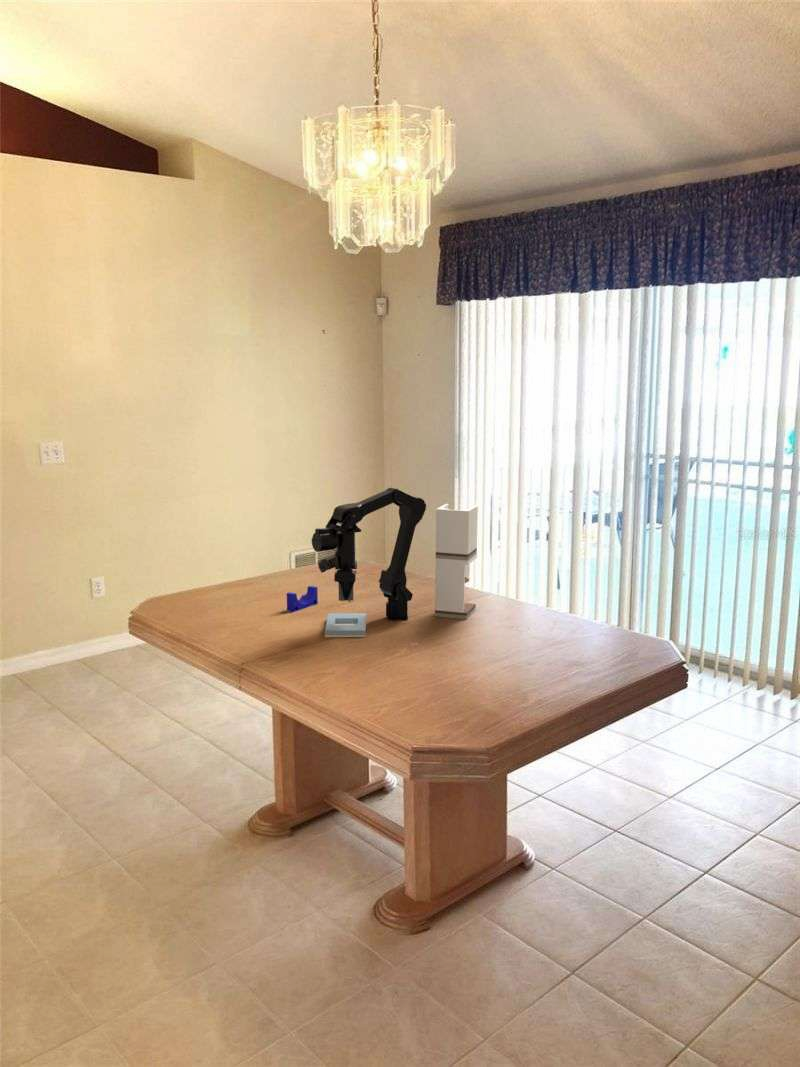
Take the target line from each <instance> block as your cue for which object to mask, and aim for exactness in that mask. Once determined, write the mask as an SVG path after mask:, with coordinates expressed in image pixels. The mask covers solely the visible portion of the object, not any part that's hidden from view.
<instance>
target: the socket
mask: <svg viewBox="0 0 800 1067" xmlns="http://www.w3.org/2000/svg"><path fill="white" fill-rule="evenodd" d="M366 628H367V613H366V612H364V613H363V612H361V613H359V612H358V613H357V612H355V613H354V612H352V613H351V612H350V613H346V612H345V613H344V612H343V613H340V612H338V613H337V612H335V613H332V612H331V613H328V614H327V619H326V624H325V629H324V637H325V638H347V637H348V638H350V637H351V638H353V637H354V638H366V632H367V630H366Z"/></svg>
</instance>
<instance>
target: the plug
mask: <svg viewBox="0 0 800 1067" xmlns="http://www.w3.org/2000/svg"><path fill="white" fill-rule="evenodd" d="M354 587H355V584H354V585H353V587H352V590H351V593H350V595H349V598H348V600H344V596H343V592H342V588H341V584H340V583H338V601H340V602H343V603H344V602H345V601H347V602H348V603H351V602H354V597H355V595H354V593H355V592H354V591H355V590H354Z"/></svg>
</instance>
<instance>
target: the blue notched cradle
mask: <svg viewBox="0 0 800 1067" xmlns="http://www.w3.org/2000/svg"><path fill="white" fill-rule="evenodd" d="M318 594H319V593H318V586H314V585H309V586H307V590H306V594H302V595H301V597H300V598H299V599H298V596H297V593H296V592H290V591H289V592H287V593H286V611H288V612H293V613H294V612H298V611H301V610H303V609H306V608H309V607H310V608H311V607H312V606H315V605H318V599H319V598H318Z"/></svg>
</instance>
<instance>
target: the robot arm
mask: <svg viewBox="0 0 800 1067" xmlns="http://www.w3.org/2000/svg"><path fill="white" fill-rule="evenodd" d="M392 504H394V505H395V506H397V507H398V508H399V509H398V516H399V521H400V524H399V527H398V531H397V536H396V540H395V544H394V548H393V553H392V556H391V560H390V563H389V566H388V568H386V569H385V570H384V569H382V570H381V571H380V577H379V580H378V583H379V589H380V591H381V592H382V593H383V597H384V598H387V601H386V602H385V616H386V618H387V621H390V620H391V621H408V620H409V616H408V614H409V613H408V610H409V608H408V607H409V606H408V603H409V602H410V601H412V598H413V595H414V594H413V593H412V591H410V590H409V589H408V588H407V582H408V580H407V574H406V566H407V561H408V559H409V558H408V557H409V554H410V551H411V547H412V542H413V538H414V535H415V534H414V533H415V530H416V527H417V525H418V524H419V523H420V522H421V520H423V517H424V515H425V512H426V510H427V504H426V501H425V500H424V499H423V498H421V497H417V496H414V495H413V496H412V495H410V494H408V493H406V492H404V491H402V490H401V489H400V488H395V487H389V488H387V489H386V490H383V491H380V492H379V493H377V494H375V495H372V496H369V497H367V498H365V499H363V500H361V501H358V502H351V503H344V504H341V505H337V506H336V507H335V508H333V512H332V515H331V517H330V519H329V520H328V522H327V524H326V526H325V528H315V529H314V530H315V531H314V533H313V535H312V538H311V545H312V546H311V547H312V548H313V550H314V551H315V552H318V553H320V552H325V551H332V550H333V551H334V550H335V549H336V550H335V553H334V554H333V555H328V556H326V557H323V558H321V559H319V560H318V561H317V565H318V569H319V571H320V573H325V572H326V571H330V570H332V569H334V570H335V572H334V577H333V578H334V579H333V580H334V582H335V583H338V584H339V583H340V584H341V588H342V592H343V596H344V600H348V598H349V595H350V593H351V590H352V587H353V585H354V586H355V582H356V580H357V579H356V576H357V569H358V562H357V560H356V533H361V532H362V529H361V528H360V527H359V526H358V525H357V524H358V523H360V522H362V520H363V519H364V517H365V516H367V515H369V514H371V513H374V512H376V511H379V510H381V509H382V508H386V507H387V506H389V505H392Z"/></svg>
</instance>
